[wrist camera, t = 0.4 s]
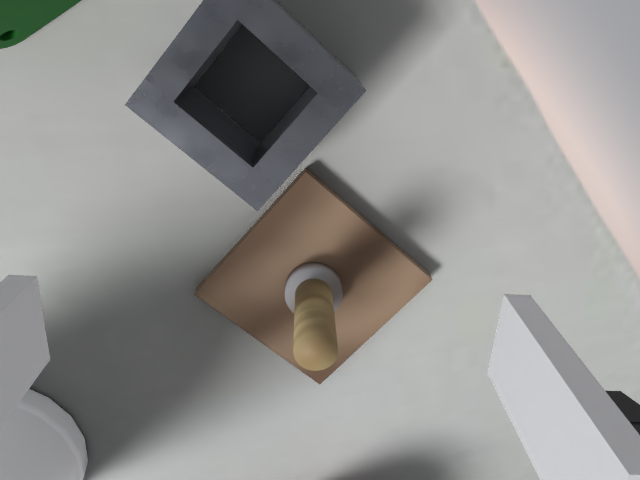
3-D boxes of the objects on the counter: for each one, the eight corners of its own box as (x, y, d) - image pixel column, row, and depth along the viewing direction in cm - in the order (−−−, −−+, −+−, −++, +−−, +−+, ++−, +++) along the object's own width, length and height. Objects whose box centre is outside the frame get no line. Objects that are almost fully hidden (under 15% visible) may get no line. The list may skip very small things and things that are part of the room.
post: (196, 287, 40) (169, 361, 32) (305, 167, 37) (306, 214, 29) (319, 376, 43) (323, 463, 35) (429, 273, 40) (462, 343, 32)
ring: (153, 89, 35) (124, 104, 29) (243, -30, 32) (231, -37, 27) (264, 180, 37) (257, 211, 32) (355, 76, 35) (366, 90, 29)
